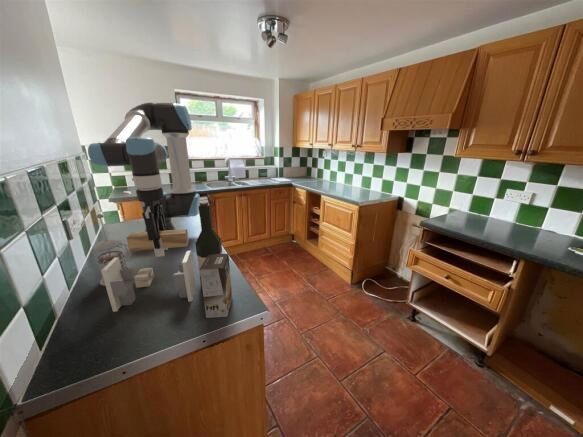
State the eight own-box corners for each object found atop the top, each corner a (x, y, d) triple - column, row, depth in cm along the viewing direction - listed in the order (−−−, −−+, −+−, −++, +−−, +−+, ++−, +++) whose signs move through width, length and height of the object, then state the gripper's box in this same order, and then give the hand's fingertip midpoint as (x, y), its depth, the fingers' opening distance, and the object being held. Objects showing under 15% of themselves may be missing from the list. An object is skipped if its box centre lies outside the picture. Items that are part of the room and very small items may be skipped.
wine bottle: (203, 293, 80) (191, 207, 71) (199, 280, 87) (188, 201, 78) (227, 286, 84) (219, 203, 74) (222, 275, 91) (214, 198, 81)
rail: (134, 246, 84) (131, 232, 82) (188, 241, 88) (187, 228, 86) (129, 251, 80) (126, 237, 79) (186, 246, 84) (184, 233, 83)
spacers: (142, 278, 89) (140, 268, 88) (193, 272, 93) (192, 263, 91) (136, 287, 83) (133, 277, 82) (191, 281, 87) (189, 271, 86)
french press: (93, 282, 86) (73, 216, 78) (124, 267, 97) (110, 207, 89) (111, 288, 83) (92, 220, 75) (142, 272, 93) (128, 210, 85)
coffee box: (228, 317, 70) (223, 268, 65) (205, 318, 69) (198, 269, 64) (232, 297, 78) (228, 253, 73) (212, 298, 78) (207, 253, 73)
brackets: (124, 295, 79) (114, 257, 75) (196, 286, 84) (190, 250, 79) (113, 311, 72) (101, 270, 67) (192, 301, 76) (186, 262, 72)
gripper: (145, 183, 84) (157, 243, 92) (125, 194, 69) (141, 266, 76) (168, 182, 86) (178, 241, 94) (153, 193, 70) (167, 263, 78)
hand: (161, 252), depth 85 cm, fingers closed on rail, 4 cm apart
